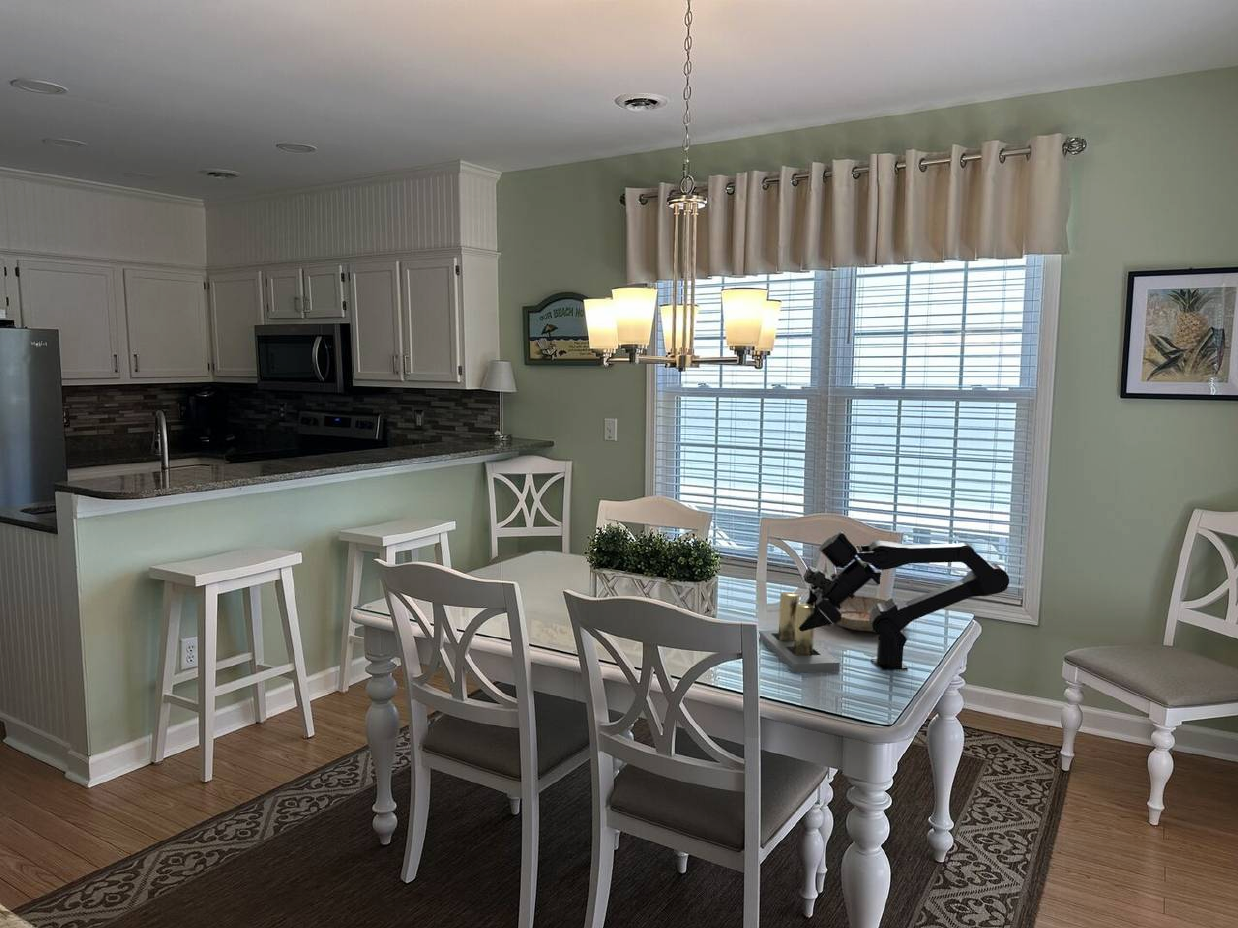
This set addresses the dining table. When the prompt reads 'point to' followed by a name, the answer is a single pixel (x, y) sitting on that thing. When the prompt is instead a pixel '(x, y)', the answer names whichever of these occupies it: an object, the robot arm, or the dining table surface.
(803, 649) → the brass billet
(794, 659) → the frame
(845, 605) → the ceramic bowl
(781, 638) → the cylinder
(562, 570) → the dining table surface
